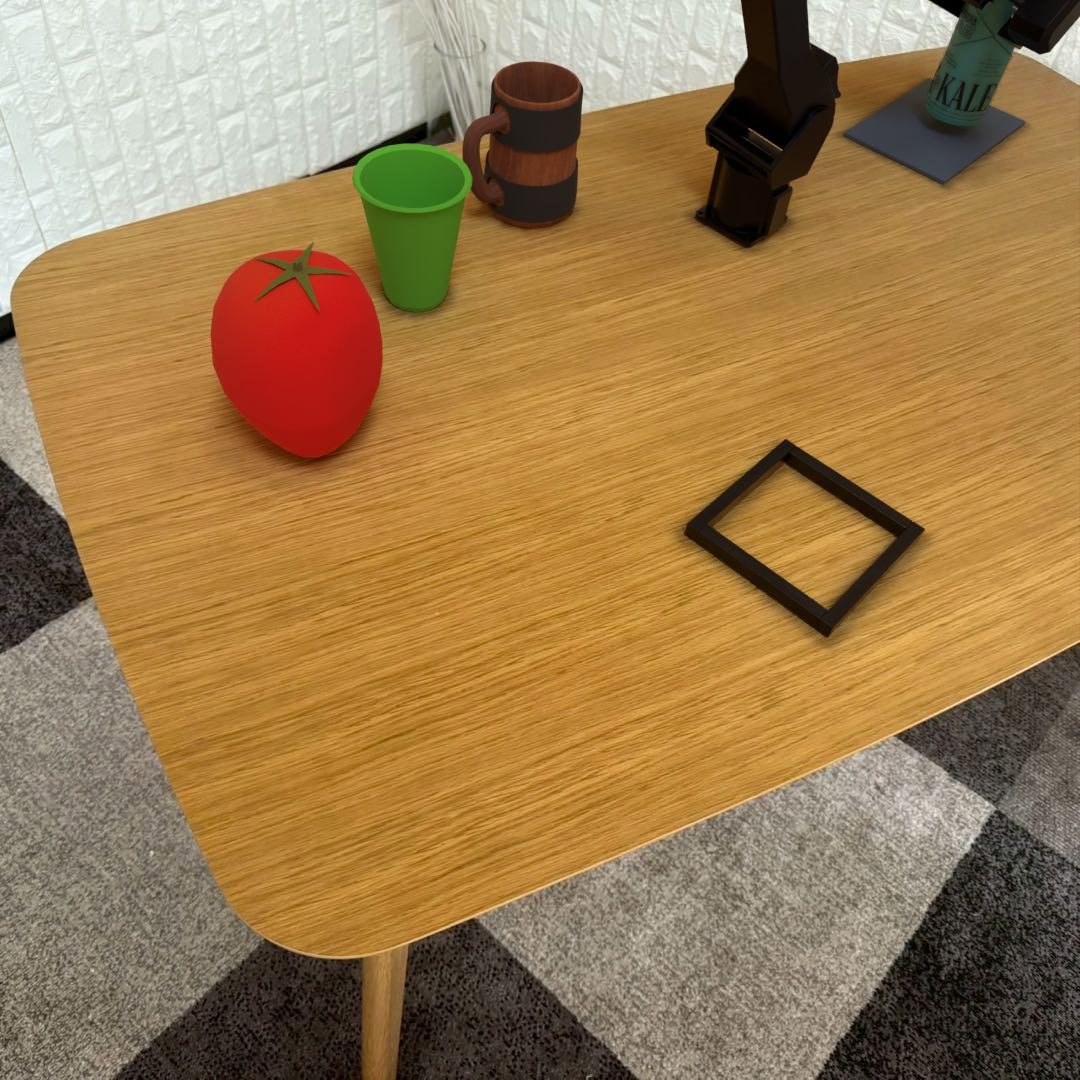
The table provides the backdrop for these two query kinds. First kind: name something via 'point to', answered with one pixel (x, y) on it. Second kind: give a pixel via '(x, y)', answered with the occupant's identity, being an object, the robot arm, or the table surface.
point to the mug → (528, 144)
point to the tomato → (298, 348)
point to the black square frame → (771, 581)
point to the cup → (413, 218)
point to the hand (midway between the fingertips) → (995, 31)
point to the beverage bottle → (971, 65)
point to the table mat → (930, 135)
